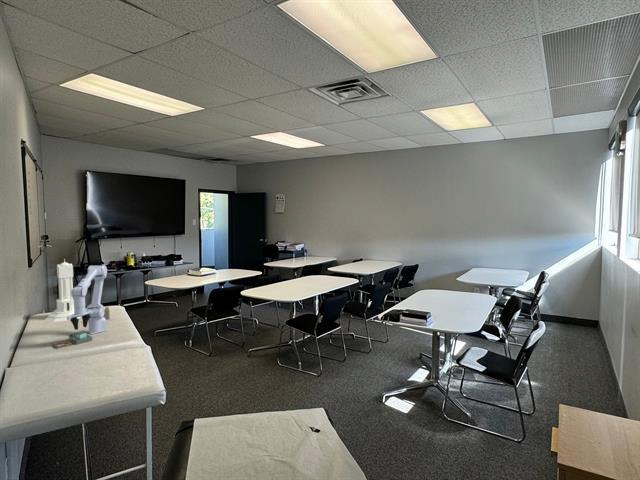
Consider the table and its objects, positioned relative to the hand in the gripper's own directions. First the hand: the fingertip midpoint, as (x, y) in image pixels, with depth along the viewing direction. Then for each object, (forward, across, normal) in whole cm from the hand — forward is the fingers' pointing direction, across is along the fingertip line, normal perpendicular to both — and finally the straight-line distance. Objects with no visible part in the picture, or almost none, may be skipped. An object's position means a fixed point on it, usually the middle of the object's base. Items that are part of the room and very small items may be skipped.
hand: (80, 328), depth 220 cm
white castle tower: (+8, -31, -64) cm, 71 cm away
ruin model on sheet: (+9, -34, -31) cm, 47 cm away
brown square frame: (+8, +10, -2) cm, 13 cm away
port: (+8, 0, -2) cm, 8 cm away
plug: (+8, 0, 0) cm, 8 cm away
